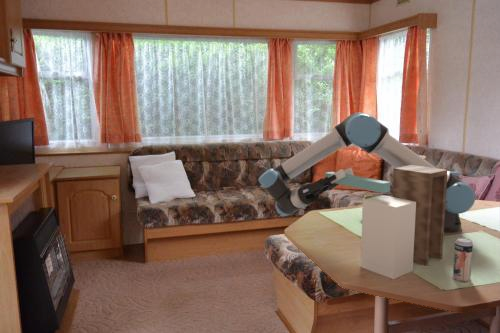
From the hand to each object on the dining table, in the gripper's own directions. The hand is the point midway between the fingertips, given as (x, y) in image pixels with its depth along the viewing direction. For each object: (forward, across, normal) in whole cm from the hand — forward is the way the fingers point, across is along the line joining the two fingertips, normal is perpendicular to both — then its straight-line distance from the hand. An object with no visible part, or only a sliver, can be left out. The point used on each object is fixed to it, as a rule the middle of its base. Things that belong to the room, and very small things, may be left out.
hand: (347, 172), depth 146 cm
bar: (+1, 0, -5) cm, 5 cm away
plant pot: (-34, -44, -14) cm, 57 cm away
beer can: (+16, -11, -42) cm, 47 cm away
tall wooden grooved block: (0, -16, -33) cm, 37 cm away
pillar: (0, 0, -33) cm, 33 cm away
